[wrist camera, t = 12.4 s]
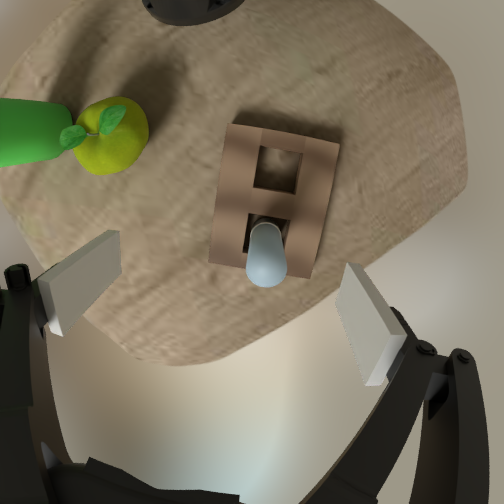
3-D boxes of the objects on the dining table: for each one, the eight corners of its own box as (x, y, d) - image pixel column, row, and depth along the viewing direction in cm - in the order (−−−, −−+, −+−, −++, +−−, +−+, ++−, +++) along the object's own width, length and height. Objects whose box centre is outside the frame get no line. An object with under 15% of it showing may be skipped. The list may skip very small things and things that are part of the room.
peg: (253, 215, 35) (248, 245, 24) (282, 220, 35) (291, 252, 24) (249, 243, 36) (242, 284, 25) (277, 247, 36) (283, 290, 25)
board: (230, 125, 31) (227, 123, 29) (334, 144, 32) (339, 144, 29) (211, 255, 37) (208, 262, 35) (307, 271, 37) (309, 278, 35)
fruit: (97, 115, 31) (52, 110, 21) (155, 95, 30) (120, 79, 21) (105, 177, 34) (61, 187, 24) (164, 162, 33) (130, 166, 24)
